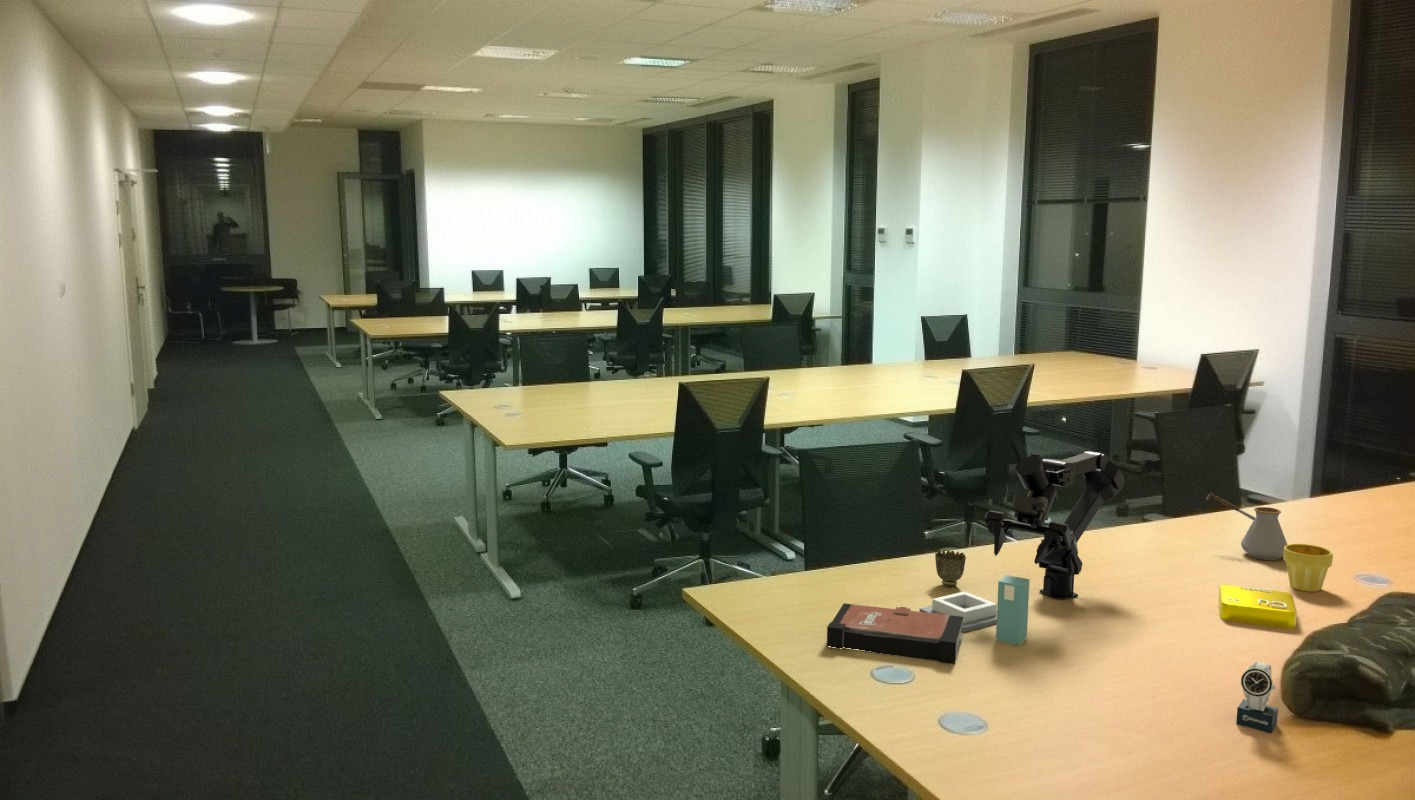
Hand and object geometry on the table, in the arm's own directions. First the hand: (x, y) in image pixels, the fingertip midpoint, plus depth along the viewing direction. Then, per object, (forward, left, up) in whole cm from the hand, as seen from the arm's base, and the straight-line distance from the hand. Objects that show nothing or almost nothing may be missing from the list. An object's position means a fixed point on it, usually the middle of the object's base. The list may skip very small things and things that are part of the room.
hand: (1015, 558), depth 227 cm
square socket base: (+8, -7, -14) cm, 18 cm away
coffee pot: (-93, -17, -15) cm, 96 cm away
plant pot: (-81, +10, -15) cm, 83 cm away
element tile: (-54, +18, -15) cm, 59 cm away
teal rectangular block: (+7, +8, -15) cm, 18 cm away
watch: (-6, +57, -15) cm, 59 cm away
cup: (-2, -26, -15) cm, 30 cm away
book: (+30, -1, -15) cm, 34 cm away
